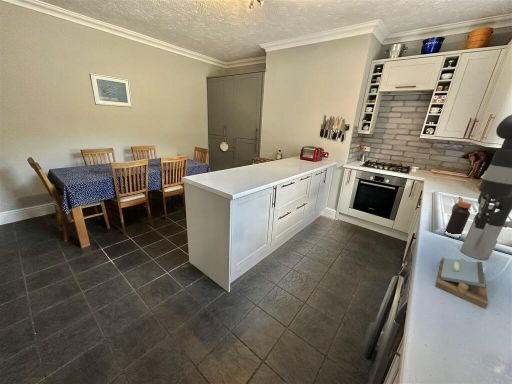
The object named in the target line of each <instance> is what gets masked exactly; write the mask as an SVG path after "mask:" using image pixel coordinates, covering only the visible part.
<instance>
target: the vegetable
mask: <svg viewBox="0 0 512 384" xmlns="http://www.w3.org/2000/svg"><path fill="white" fill-rule="evenodd" d="M457 199H458V201H457V203H456V202H455V203H454V204H453V206H452V208H451V213H452V212H453V210H454V209H456V208H458V203H459V201H463V202H464V200H463V197H462V196H459V197H458V198H457Z"/></svg>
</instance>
